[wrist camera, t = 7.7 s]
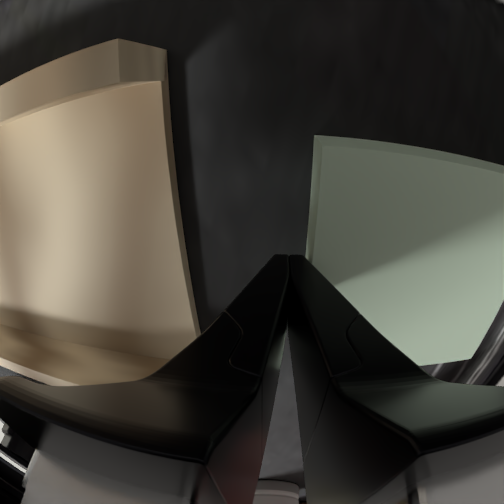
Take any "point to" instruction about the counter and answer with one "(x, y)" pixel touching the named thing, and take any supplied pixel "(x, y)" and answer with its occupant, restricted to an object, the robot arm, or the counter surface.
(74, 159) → the birch tray
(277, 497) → the travel mug
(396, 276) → the cover plate
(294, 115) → the counter surface
